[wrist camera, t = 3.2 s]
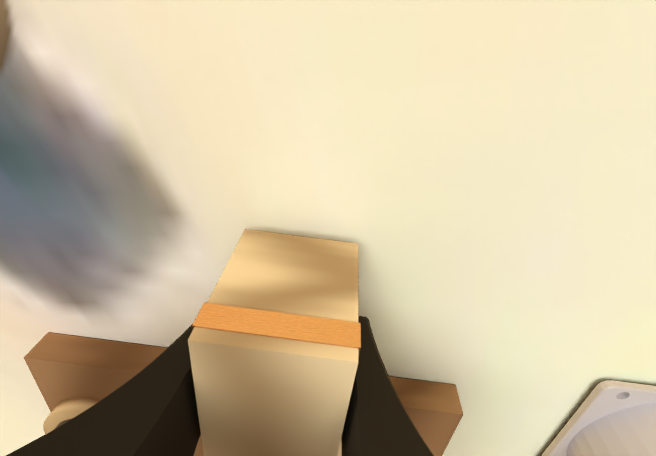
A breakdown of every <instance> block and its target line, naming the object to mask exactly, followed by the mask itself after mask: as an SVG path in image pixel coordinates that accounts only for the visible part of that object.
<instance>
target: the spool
mask: <svg viewBox="0 0 656 456" xmlns="http://www.w3.org/2000/svg"><path fill="white" fill-rule="evenodd" d="M99 401H101V400H99V399H94V398H71V399H67V400H64V401H62V402H60V403H59V404H57V405H56V407H55V408H54V409H53V411H52V412H51V413H50V415H49V416H48V417H47V419H46V420H45V421H44V425H43V428H44V432H45V434H47V433H49V432H51V431H53V430H54V429H56V428H58V427H59V426H61V425H63V424H64V423H66V422H67V421H69V420H71V419H72V418H74V417H76V416H77V415H79V414H80V413H82V412H84V411H85V410H87V409H88V408H90V407H92V406H93V405H95V404H96V403H98V402H99Z"/></svg>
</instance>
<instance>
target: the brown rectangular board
mask: <svg viewBox="0 0 656 456" xmlns="http://www.w3.org/2000/svg"><path fill="white" fill-rule="evenodd" d="M166 349H167V348H165V347H157V346H150V345H142V344H134V343H126V342H118V341H111V340H103V339H95V338H87V337H80V336H72V335H64V334H56V333H47V334H46V335H45V336H44V337H43V338H42V339H41V340H40V341H39V342H38V343H37V344H36V346H35V347H34V348H33V349H32V350H31V351H30V352H29V353H28V354H27V355H26V356H25V357H24V359H25V361H26V363H27V365H28V367H29V369H30V371H31V373H32V375H33V377H34V379H35V381H36V383H37V385H38V387H39V389H40V391H41V393H42V395H43V397H44V399H45V401H46V403H47V405H48V407H49V409H50V411H51V412H52V411H53V409H54V408H55V407H56V405H57V404H59V403H60V402H62V401H64V400H67V399H71V398H94V399H99V400H102V399H104V398H105V397H106V396H108V395H109V394H111V393H112V392H113V391H115V390H116V389H118V388H119V387H120V386H122V385H123V384H125V383H126V382H127V381H128V380H130V379H131V378H132V377H134V376H135V375H136V374H138V373H139V372H140V371H141V370H143V369H144V368H145V367H146V366H147V365H149V364H150V363H151V362H152V361H153V360H155V359H156V358H157V357H158V356H159V355H160V354H161V353H162V352H164V351H165V350H166ZM389 378H390V380H391V383H392V385H393V387H394V389H395V391H396V393H397V395H398V397H399V399H400V401H401V403H402V405H403V406H404V408H405V410H406V412H407V414H408V415H409V417H410V419H411V421H412V422H413V424H414V426H415V427H416V429H417V431H418V432H419V434H420V435H421V437H422V439H423V440H424V442H425V443H426V445H427V446H428V448H429V449H430V451H431V452H432V454H433V455H434V456H442V454H443V452H444V450H445V449H446V447H447V445H448V443H449V441H450V439H451V437H452V435H453V433H454V431H455V429H456V427H457V425H458V423H459V421H460V420H461V418H462V416H463V412H462V408H461V404H460V400H459V397H458V393H457V389H456V385H453V384H445V383H437V382H430V381H422V380H414V379H406V378H398V377H391V376H389ZM194 456H204V453H203V446H202V439H201V435H200V438H199V440H198V443H197V446H196V449H195V453H194ZM337 456H342V443H341V441H340V445H339V450H338V454H337Z"/></svg>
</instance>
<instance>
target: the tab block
mask: <svg viewBox="0 0 656 456" xmlns="http://www.w3.org/2000/svg"><path fill="white" fill-rule="evenodd" d="M192 328H193V331H192V333H191V335H190V337H189V339H188V345H189V352H190V360H191V367H192V374H193V381H194V388H195V396H196V403H197V410H198V417H199V425H200V432H201V439H202V446H203V453H204V456H337V454H338V450H339V445H340V441H341V436H342V432H343V428H344V423H345V419H346V415H347V410H348V406H349V401H350V397H351V393H352V388H353V384H354V379H355V375H356V371H357V366H358V357H359V353H360V349H361V323H358V244H356V243H349V242H341V241H333V240H325V239H318V238H310V237H302V236H294V235H287V234H279V233H271V232H263V231H255V230H248V229H245V231H244V233H243V235H242V236H241V238H240V240H239V242H238V244H237V246H236V248H235V250H234V252H233V254H232V256H231V258H230V260H229V262H228V263H227V265H226V267H225V269H224V271H223V273H222V275H221V277H220V279H219V281H218V283H217V285H216V287H215V289H214V290H213V292H212V294H211V296H210V298H209V300H208V302H207V303H204V304H203V306H202V308H201V310H200V312H199V314H198V315H197V317H196V319H195V321H194V323H193V325H192Z"/></svg>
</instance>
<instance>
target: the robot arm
mask: <svg viewBox="0 0 656 456" xmlns="http://www.w3.org/2000/svg"><path fill="white" fill-rule="evenodd" d="M358 323H361V349H360V353H359V357H358V366H357V371H356V375H355V379H354V384H353V388H352V393H351V397H350V401H349V406H348V410H347V415H346V419H345V423H344V428H343V432H342V436H341V443H342V456H434V455H433V454H432V452H431V451H430V449H429V448H428V446H427V445H426V443H425V442H424V440H423V439H422V437H421V435H420V434H419V432H418V431H417V429H416V427H415V426H414V424H413V422H412V421H411V419H410V417H409V415H408V414H407V412H406V410H405V408H404V406H403V405H402V403H401V401H400V399H399V397H398V395H397V393H396V391H395V389H394V387H393V385H392V383H391V380H390V378H389V376H388V374H387V371H386V369H385V367H384V364H383V362H382V359H381V357H380V354H379V352H378V349H377V346H376V343H375V340H374V337H373V334H372V331H371V327H370V323H369V320H368V318H367V317H362V316H358ZM192 325H193V324H192ZM192 325H191V326H190V327H189V328H188V329H187V330H186V331H185V332H184V333H183V334H182V335H181V336H180V337H179V338H178V339H177V340H176V341H175V342H174V343H173V344H171V345H170V346H169V347H168V348H167V349H166V350H165V351H164V352H162V353H161V354H160V355H159V356H158V357H157V358H156V359H155V360H153V361H152V362H151V363H150V364H149V365H147V366H146V367H145V368H144V369H143V370H141V371H140V372H139V373H138V374H136V375H135V376H134V377H132V378H131V379H130V380H128V381H127V382H126V383H125V384H123V385H122V386H120V387H119V388H118V389H116V390H115V391H113V392H112V393H111V394H109V395H108V396H106V397H105V398H104V399H102V400H101V401H99V402H98V403H96V404H95V405H93V406H92V407H90V408H88V409H87V410H85V411H84V412H82V413H80V414H79V415H77V416H76V417H74V418H72V419H71V420H69V421H67V422H66V423H64V424H63V425H61V426H59V427H58V428H56V429H54V430H53V431H51V432H49V433H47V434H46V435H44V436H42V437H40V438H38V439H36V440H34V441H33V442H31V443H29V444H27V445H25V446H23V447H21V448H20V449H18V450H16V451H14V452H12V453H10V454H8V455H6V456H194V453H195V449H196V446H197V443H198V440H199V438H200V435H201V432H200V425H199V417H198V410H197V403H196V396H195V388H194V381H193V374H192V367H191V360H190V352H189V345H188V339H189V337H190V335H191V333H192V331H193V328H192ZM541 456H656V386H653V385H645V384H637V383H629V382H621V381H614V380H606V381H603V382H600V383H599V384H598V385H597V386H596V387H595V388H594V390H593V391H592V392H591V393H590V395H589V396H588V397H587V398H586V400H585V401H584V402H583V403H582V405H581V406H580V407H579V408H578V410H577V411H576V412H575V414H574V415H573V416H572V417H571V419H570V420H569V421H568V422H567V424H566V425H565V426H564V427H563V429H562V430H561V431H560V432H559V434H558V435H557V436H556V437H555V439H554V440H553V441H552V443H551V444H550V445H549V446H548V448H547V449H546V450H545V451H544V453H543V454H542V455H541Z"/></svg>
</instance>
